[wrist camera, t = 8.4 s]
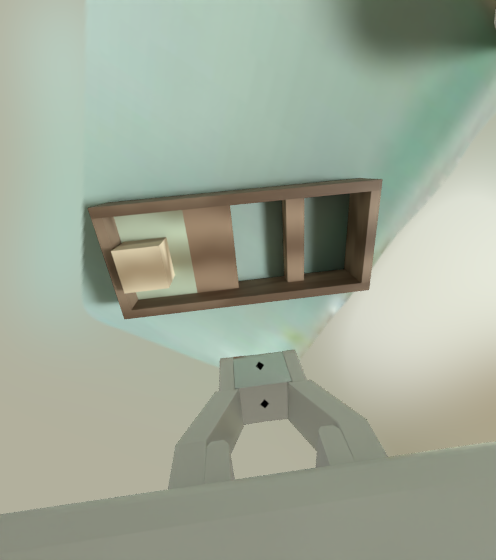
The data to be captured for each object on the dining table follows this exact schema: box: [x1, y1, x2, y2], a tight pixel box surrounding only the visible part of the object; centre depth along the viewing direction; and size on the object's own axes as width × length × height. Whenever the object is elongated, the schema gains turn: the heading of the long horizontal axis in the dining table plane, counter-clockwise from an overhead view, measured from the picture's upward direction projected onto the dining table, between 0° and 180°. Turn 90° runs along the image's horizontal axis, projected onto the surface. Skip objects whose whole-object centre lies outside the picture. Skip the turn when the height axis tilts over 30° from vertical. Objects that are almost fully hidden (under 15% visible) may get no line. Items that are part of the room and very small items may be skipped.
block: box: [111, 237, 175, 293], centre depth 26 cm, size 4×4×4 cm
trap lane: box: [88, 178, 383, 319], centre depth 28 cm, size 12×28×4 cm, turn 94°
